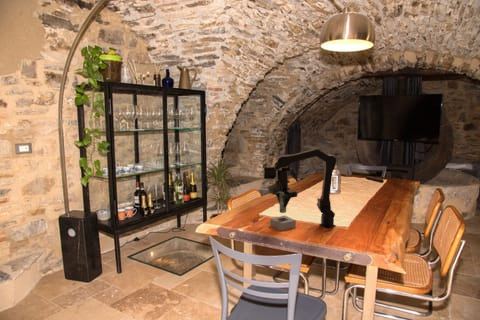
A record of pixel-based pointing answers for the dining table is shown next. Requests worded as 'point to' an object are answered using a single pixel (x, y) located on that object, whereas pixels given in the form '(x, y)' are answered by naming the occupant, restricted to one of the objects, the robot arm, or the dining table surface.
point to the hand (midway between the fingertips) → (282, 206)
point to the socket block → (282, 223)
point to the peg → (282, 204)
